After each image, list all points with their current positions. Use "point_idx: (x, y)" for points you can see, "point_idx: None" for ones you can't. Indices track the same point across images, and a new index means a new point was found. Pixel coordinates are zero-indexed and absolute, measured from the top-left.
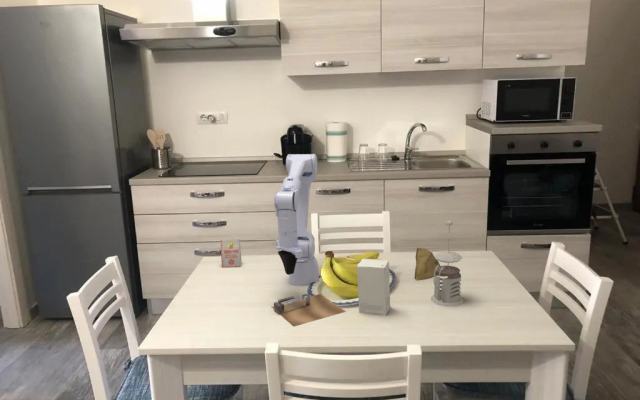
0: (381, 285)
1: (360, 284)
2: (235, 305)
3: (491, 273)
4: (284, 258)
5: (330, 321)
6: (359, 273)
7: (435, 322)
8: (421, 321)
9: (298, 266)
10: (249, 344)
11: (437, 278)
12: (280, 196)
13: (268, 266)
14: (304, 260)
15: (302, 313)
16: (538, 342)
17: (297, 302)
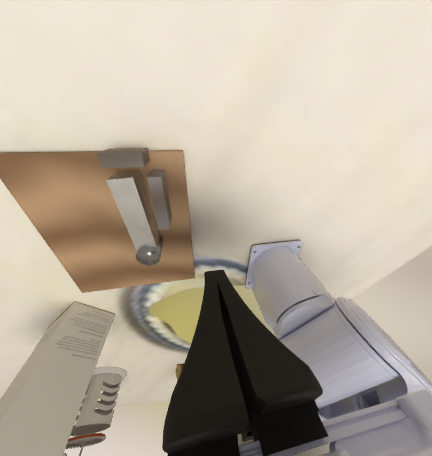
0: None
1: (12, 396)
2: (290, 35)
3: (158, 398)
4: (192, 379)
5: (53, 255)
6: None
7: (22, 362)
8: (29, 353)
9: (280, 299)
10: None
11: (82, 421)
12: None
13: (387, 238)
14: (280, 325)
15: (96, 215)
16: None
17: (127, 225)
